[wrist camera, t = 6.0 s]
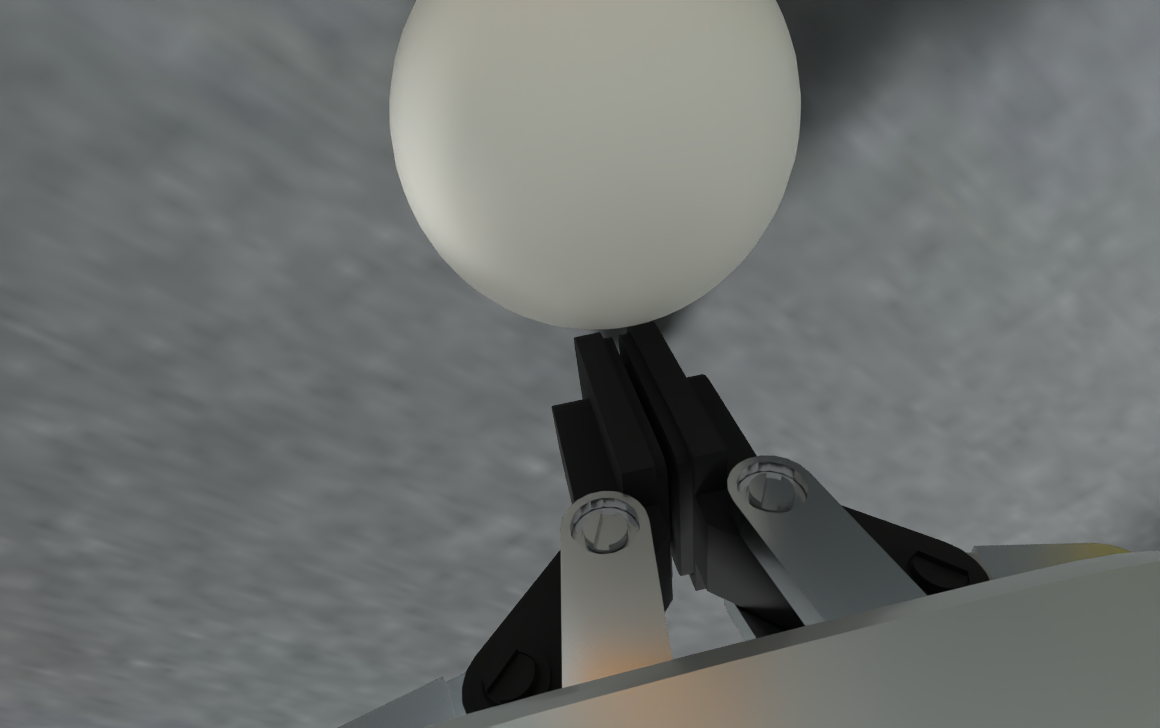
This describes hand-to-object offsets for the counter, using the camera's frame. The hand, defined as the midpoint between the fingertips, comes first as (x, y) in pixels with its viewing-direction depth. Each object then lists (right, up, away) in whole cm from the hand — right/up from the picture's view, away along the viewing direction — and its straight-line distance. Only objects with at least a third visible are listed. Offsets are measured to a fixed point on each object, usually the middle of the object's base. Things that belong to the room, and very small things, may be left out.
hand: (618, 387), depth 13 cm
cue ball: (-1, +4, -4) cm, 6 cm away
